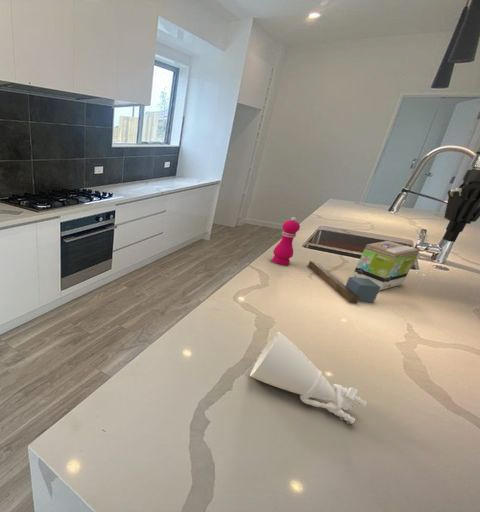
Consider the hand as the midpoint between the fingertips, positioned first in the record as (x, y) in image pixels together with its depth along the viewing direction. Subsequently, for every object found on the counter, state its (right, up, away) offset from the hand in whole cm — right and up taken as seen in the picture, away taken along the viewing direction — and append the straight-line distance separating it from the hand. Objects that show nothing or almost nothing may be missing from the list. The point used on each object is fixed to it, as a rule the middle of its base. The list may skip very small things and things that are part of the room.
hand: (448, 240), depth 102 cm
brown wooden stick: (-34, -15, +9) cm, 38 cm away
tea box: (-15, -16, +11) cm, 24 cm away
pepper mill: (-42, -8, +26) cm, 50 cm away
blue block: (-32, -20, 0) cm, 37 cm away
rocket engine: (-80, -35, -41) cm, 96 cm away
